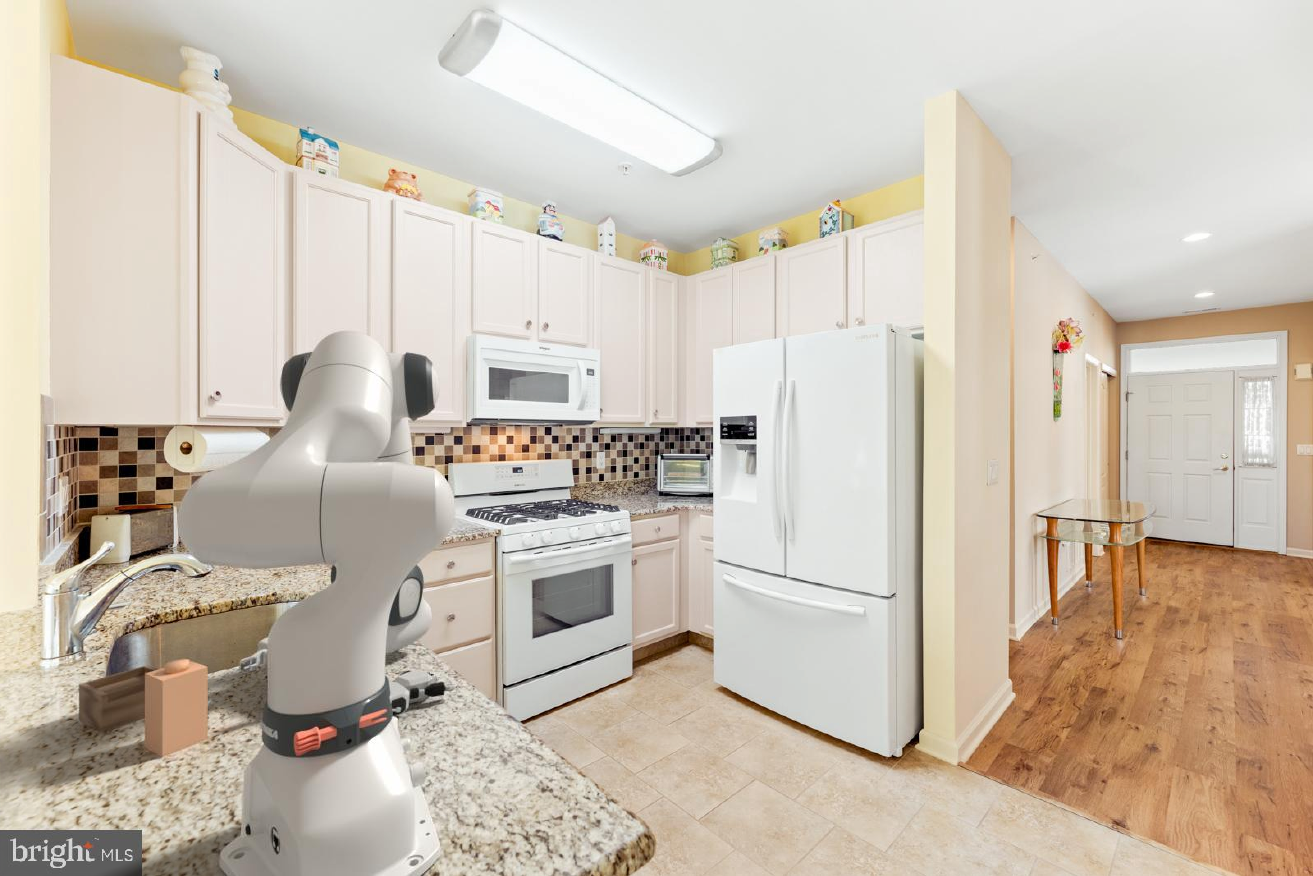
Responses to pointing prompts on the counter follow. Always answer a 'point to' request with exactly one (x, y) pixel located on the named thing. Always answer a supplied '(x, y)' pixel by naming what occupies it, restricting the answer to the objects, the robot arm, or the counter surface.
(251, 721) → the counter surface
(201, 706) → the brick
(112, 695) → the brown wooden box
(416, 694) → the robot toy
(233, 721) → the counter surface
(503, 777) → the counter surface
